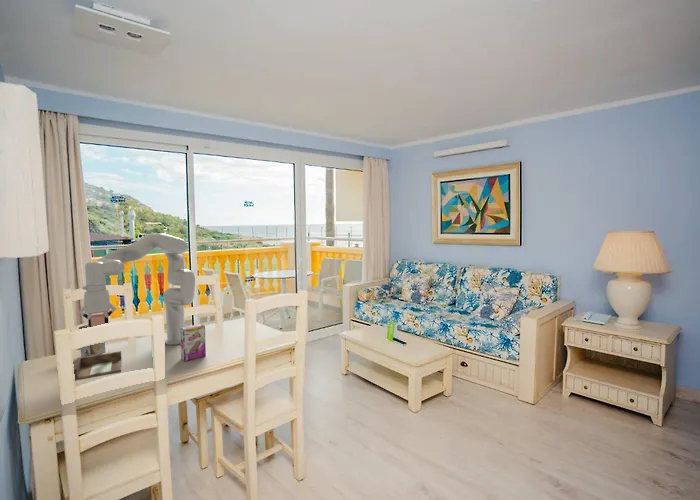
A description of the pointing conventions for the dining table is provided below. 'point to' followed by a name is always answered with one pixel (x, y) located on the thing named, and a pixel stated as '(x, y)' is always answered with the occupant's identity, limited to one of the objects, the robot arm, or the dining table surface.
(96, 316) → the bar
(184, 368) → the dining table surface
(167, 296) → the robot arm
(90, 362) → the tray
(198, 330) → the candy bar box
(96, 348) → the coffee box
